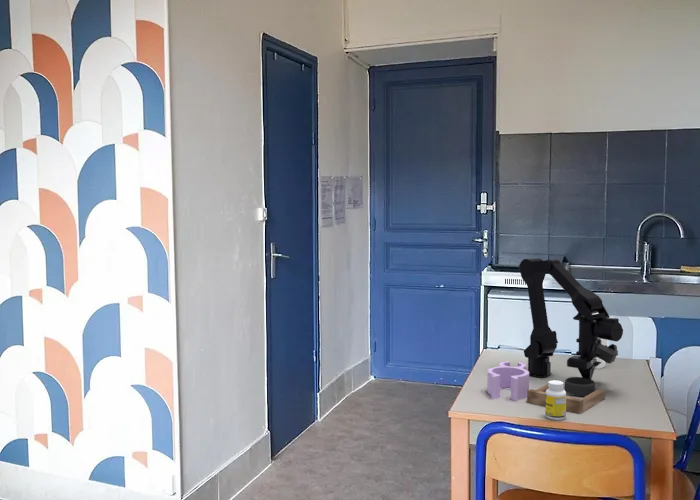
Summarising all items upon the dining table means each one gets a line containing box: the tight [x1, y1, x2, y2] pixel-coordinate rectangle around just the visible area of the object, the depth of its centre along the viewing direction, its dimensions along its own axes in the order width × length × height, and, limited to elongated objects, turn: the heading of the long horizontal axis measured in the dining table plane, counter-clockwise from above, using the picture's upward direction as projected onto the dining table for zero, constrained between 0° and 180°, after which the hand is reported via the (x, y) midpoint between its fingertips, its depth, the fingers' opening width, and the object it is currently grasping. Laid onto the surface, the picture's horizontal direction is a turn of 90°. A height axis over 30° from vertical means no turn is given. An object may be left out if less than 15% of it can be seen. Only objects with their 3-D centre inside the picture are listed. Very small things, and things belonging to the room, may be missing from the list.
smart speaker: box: [564, 376, 596, 397], centre depth 206 cm, size 9×9×4 cm
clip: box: [486, 361, 530, 402], centre depth 209 cm, size 20×12×7 cm, turn 158°
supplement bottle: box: [544, 379, 567, 421], centre depth 184 cm, size 5×5×10 cm
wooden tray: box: [526, 383, 606, 415], centre depth 199 cm, size 16×18×4 cm
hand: (587, 384), depth 211 cm, fingers closed
